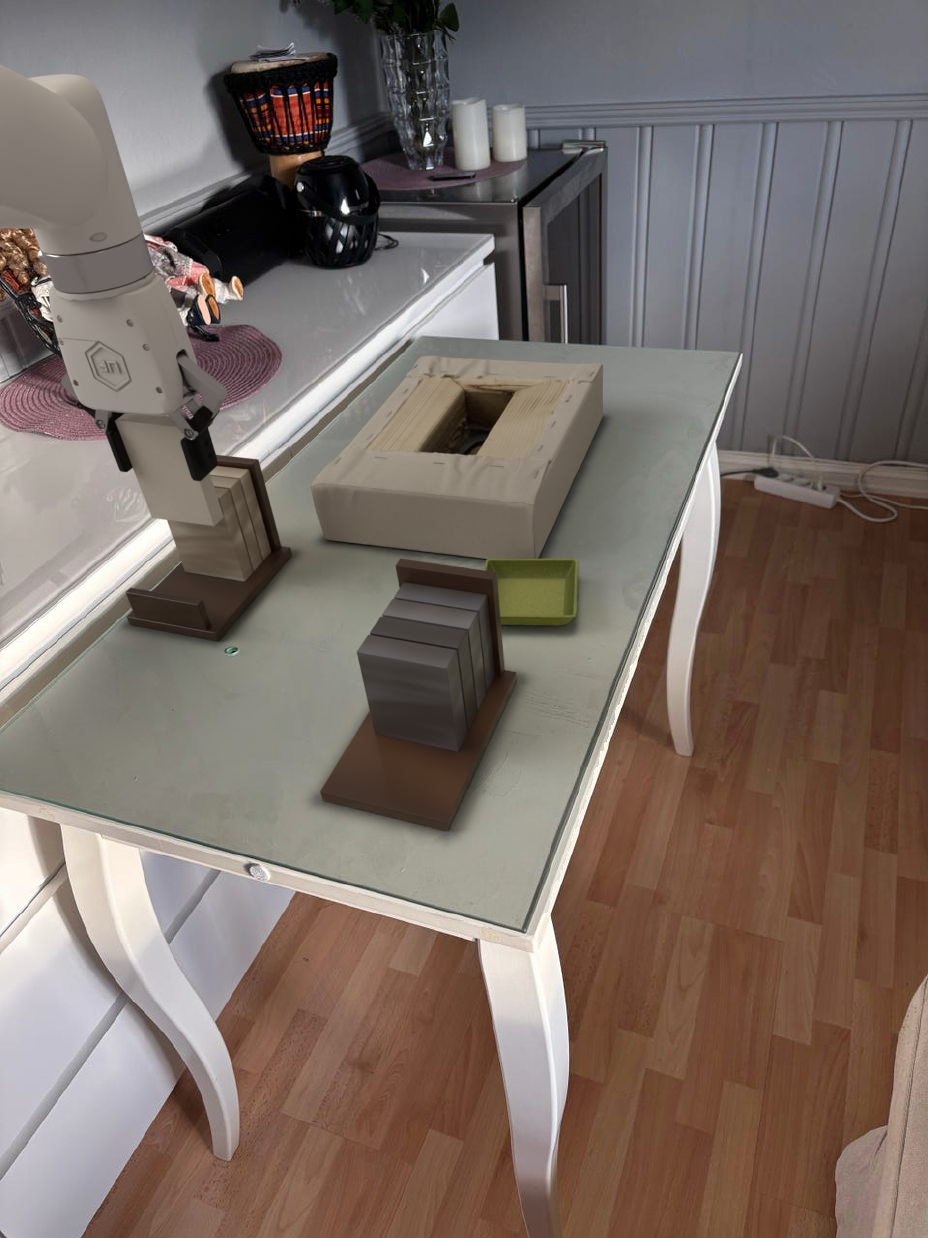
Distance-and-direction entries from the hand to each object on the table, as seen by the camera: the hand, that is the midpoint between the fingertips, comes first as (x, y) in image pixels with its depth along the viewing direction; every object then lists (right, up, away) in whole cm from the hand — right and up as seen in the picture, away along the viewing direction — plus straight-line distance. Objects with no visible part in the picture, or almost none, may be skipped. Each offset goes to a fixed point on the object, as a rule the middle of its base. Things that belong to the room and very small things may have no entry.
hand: (169, 467), depth 80 cm
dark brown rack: (+1, -10, +9) cm, 14 cm away
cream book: (+1, -4, +3) cm, 5 cm away
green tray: (+32, -12, +3) cm, 34 cm away
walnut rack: (+23, -23, -9) cm, 34 cm away
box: (+27, +3, +22) cm, 35 cm away
